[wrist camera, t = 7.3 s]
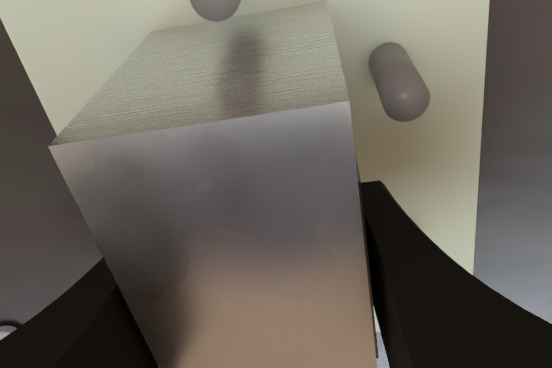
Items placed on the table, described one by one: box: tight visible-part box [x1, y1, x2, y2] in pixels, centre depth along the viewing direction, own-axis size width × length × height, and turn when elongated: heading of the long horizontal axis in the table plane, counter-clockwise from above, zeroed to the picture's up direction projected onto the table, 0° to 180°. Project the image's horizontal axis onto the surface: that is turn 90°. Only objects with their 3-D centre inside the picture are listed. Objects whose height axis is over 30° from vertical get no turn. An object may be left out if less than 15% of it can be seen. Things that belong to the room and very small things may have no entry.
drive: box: [48, 1, 378, 368], centre depth 12 cm, size 9×5×6 cm, turn 10°
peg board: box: [0, 0, 489, 332], centre depth 14 cm, size 15×12×4 cm
